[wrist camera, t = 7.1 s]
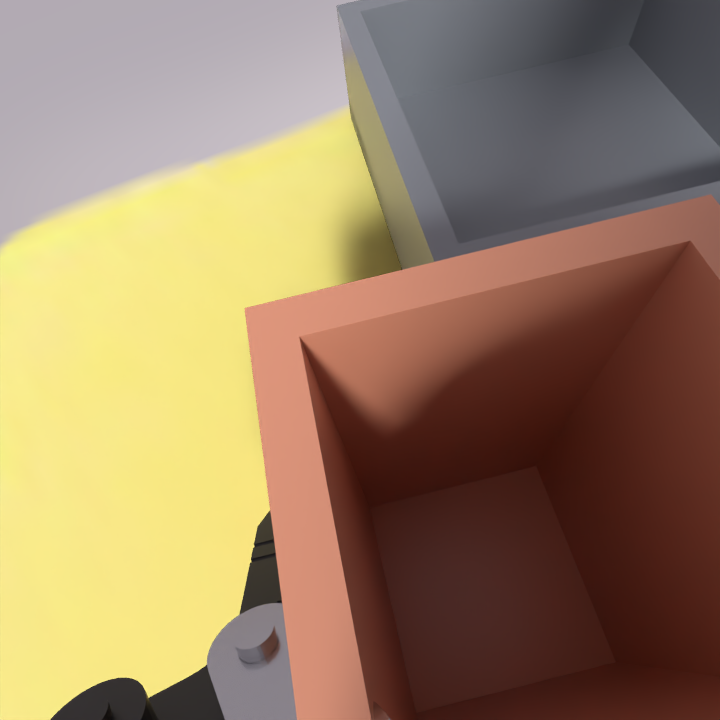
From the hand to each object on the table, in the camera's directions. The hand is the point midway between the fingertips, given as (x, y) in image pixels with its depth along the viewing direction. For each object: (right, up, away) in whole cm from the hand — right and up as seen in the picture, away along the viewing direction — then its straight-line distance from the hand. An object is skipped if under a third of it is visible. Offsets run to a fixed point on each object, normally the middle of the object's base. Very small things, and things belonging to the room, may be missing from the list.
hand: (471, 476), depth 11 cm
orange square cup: (+1, -4, +3) cm, 5 cm away
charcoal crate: (+6, +10, +10) cm, 15 cm away
